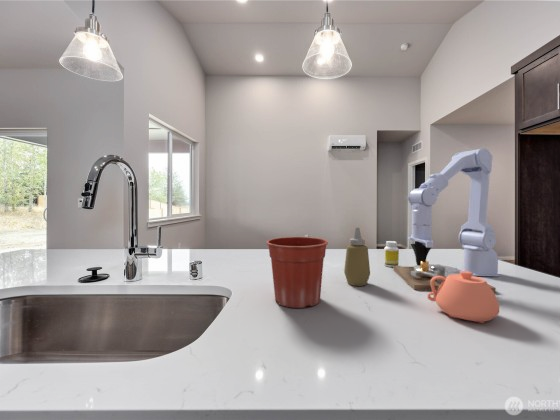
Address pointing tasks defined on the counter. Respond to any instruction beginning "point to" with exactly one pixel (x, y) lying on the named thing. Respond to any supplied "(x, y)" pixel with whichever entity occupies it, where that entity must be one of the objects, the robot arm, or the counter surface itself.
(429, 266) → the silver rounded shallow piece
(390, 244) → the supplement bottle
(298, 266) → the flower pot
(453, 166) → the robot arm
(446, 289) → the sugar bowl
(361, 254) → the squeeze bottle
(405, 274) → the post board
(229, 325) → the counter surface
